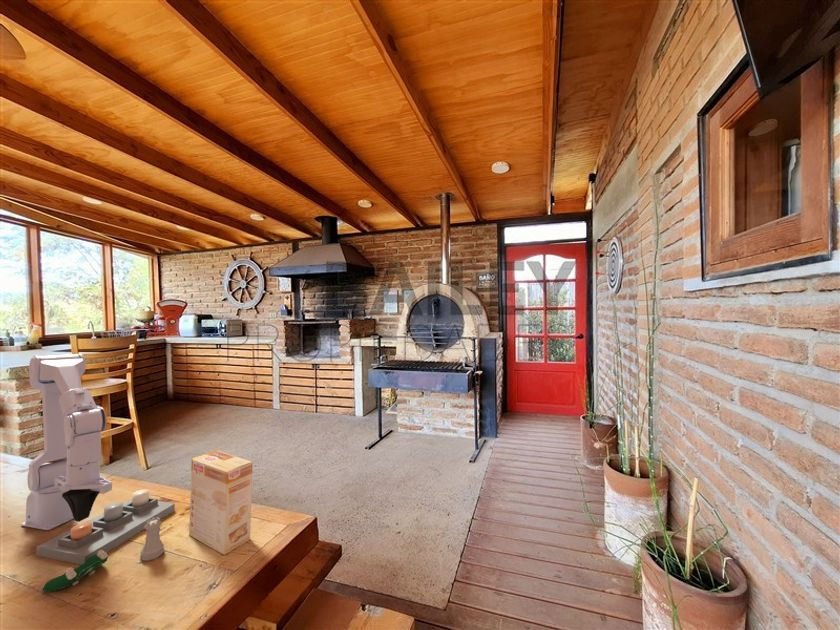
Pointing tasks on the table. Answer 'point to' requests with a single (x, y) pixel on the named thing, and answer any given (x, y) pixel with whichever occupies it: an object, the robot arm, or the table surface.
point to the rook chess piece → (152, 540)
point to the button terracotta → (81, 530)
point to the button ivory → (140, 498)
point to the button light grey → (113, 512)
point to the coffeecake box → (220, 500)
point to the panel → (104, 533)
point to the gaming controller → (76, 572)
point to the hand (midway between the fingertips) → (81, 518)
